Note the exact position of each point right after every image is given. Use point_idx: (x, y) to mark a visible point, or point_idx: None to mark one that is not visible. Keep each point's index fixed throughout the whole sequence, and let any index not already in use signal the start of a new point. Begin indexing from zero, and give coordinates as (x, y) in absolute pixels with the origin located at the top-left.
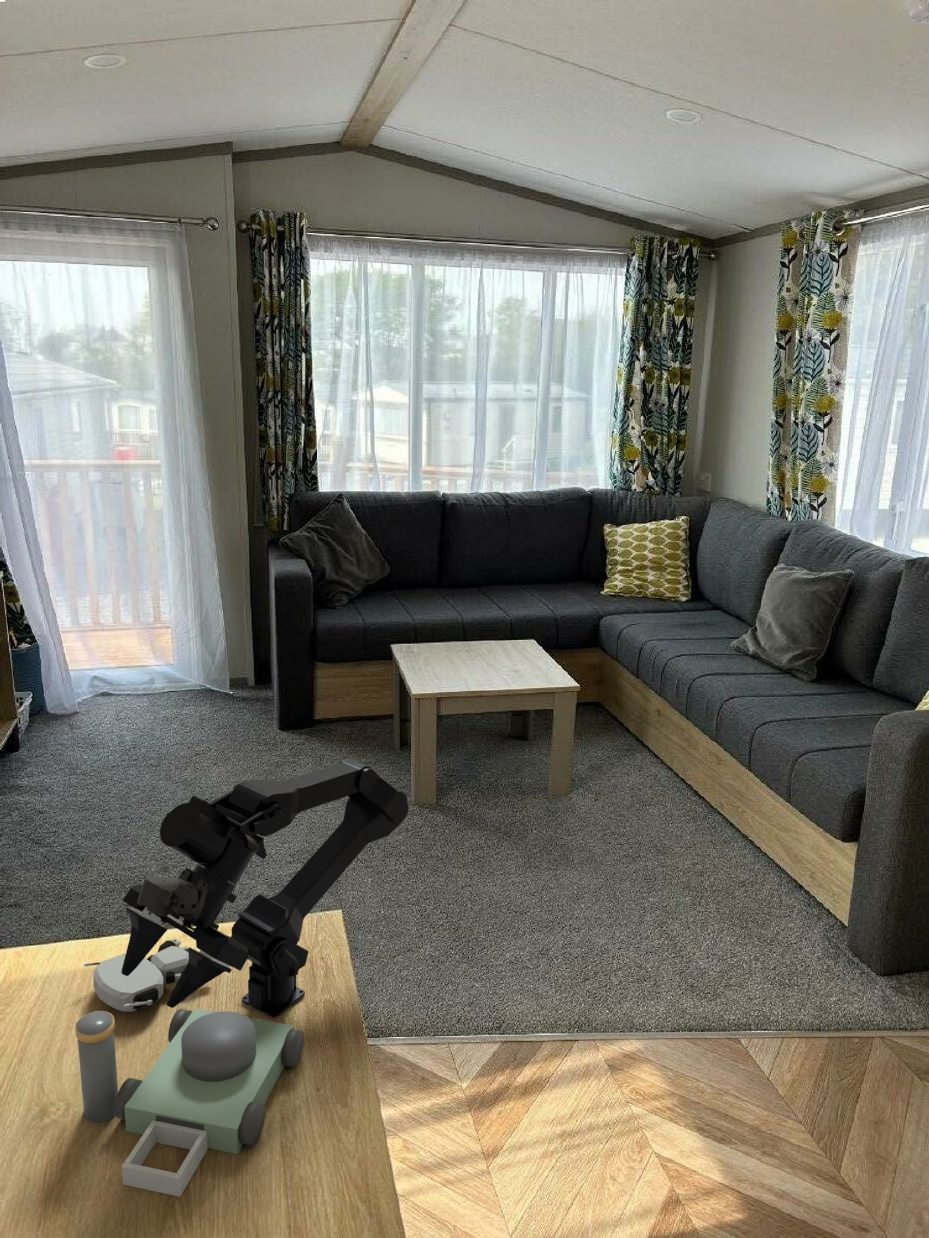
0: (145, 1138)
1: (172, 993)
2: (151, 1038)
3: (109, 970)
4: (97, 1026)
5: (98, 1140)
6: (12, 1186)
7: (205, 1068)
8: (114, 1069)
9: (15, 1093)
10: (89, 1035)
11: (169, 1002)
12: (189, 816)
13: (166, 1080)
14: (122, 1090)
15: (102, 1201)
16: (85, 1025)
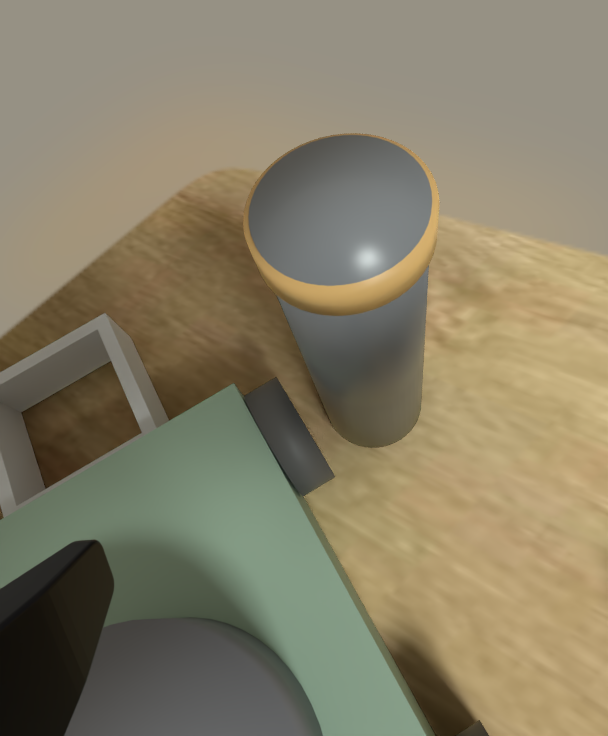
0: (126, 392)
1: (34, 589)
2: (594, 706)
3: None
4: (297, 202)
5: (282, 351)
6: None
7: None
8: (311, 372)
9: (594, 264)
10: (274, 164)
11: (64, 551)
12: None
13: (226, 538)
14: (272, 394)
15: (132, 292)
16: (349, 166)
